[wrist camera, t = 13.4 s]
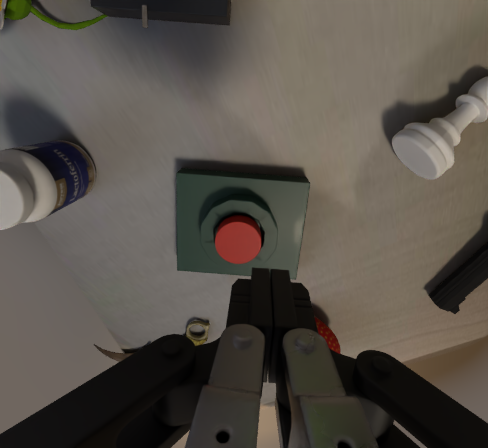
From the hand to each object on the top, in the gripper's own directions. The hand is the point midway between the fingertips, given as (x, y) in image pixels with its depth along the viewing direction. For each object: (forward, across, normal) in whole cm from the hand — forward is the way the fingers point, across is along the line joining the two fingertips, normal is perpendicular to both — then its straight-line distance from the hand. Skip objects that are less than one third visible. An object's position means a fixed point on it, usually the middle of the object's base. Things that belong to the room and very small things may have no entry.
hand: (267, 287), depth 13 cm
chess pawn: (+16, -12, -3) cm, 21 cm away
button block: (+19, +2, +4) cm, 19 cm away
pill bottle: (+19, +19, 0) cm, 27 cm away
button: (+15, +2, +4) cm, 16 cm away
